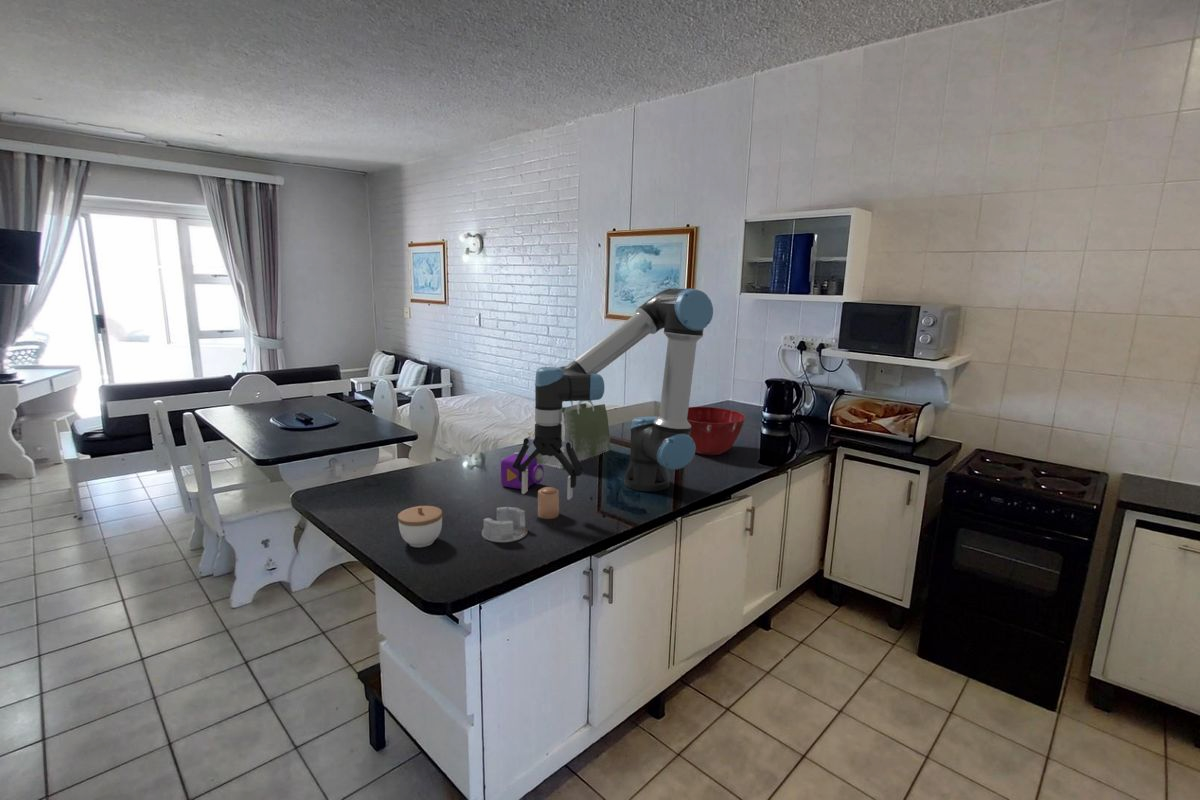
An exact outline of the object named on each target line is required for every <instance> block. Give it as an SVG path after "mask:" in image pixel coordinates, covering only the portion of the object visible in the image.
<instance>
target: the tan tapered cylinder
mask: <svg viewBox="0 0 1200 800" xmlns="http://www.w3.org/2000/svg"><path fill="white" fill-rule="evenodd" d="M559 515H560V490H558V489H556V488H555V487H553V486H546V487H545V486H544V487H542V488H540V489H539V490H538V491H537V516H538V517H539V518H541V519H545V520H550V519H551V520H552V519H556V518H558V517H559Z"/></svg>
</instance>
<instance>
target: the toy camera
mask: <svg viewBox="0 0 1200 800" xmlns="http://www.w3.org/2000/svg"><path fill="white" fill-rule="evenodd" d="M518 454H519V452H518V451H516V452H514V453H513V454H511V455H509V456H506V457H504V458H503V459H502V460H501V461H500V483H501V485H502V486H503V487H505V488H511V489H518V490H522V482H520V481H519V470H518V469H516V468H515V469H514V468H513V464H514V462H515V460H516V458H517V456H518ZM529 456H530V455H528V454H525V456H524V458H523V459H522V461H521V463H520V464H521V465H522V464H523V463H524V462H525V461H526V460H527V459H528V457H529ZM525 469H527V470H528V488H529V487H531V486H532V485H534V484H536V485H539V484H540V483H541V482H542V480H543V478H544V473H545V471H544V470H545V469H544V466H543V464H538V463H537V459H536V457H535V458H534V459H533V460H532V461H531V462H530V464H529V465H528V466H527V467H526V468H525Z"/></svg>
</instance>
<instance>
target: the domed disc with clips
mask: <svg viewBox="0 0 1200 800" xmlns="http://www.w3.org/2000/svg"><path fill="white" fill-rule="evenodd" d="M527 535H528V527H527V526H526V511H525V510H523V509H521V508H519V507H514V506H513V507H511V506H501V507H500V506H499V507H496V520H494V519H492V518H491V517H486V518H483V528H482V530H481V537H482V538H483V539H484V540H486V541H488V542H491V543H497V544H499V543H500V544H505V543H513V542H516V541H517V542H518V541H520V540H522V539H524V538H525V537H526V536H527Z"/></svg>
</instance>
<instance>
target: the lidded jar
mask: <svg viewBox="0 0 1200 800" xmlns="http://www.w3.org/2000/svg"><path fill="white" fill-rule="evenodd" d="M397 520H398V528H399V532H400V536H401V538H402V539H403V540H404V541H405V543H407V544H408V545H409V546H410V547H413V548H424V547H428V546H430V545H432V544H433V543H434V542H435V540H436V539H437V538H439V536H440V534H441V531H442V526H443V510H442V509H441V508H440V507H437V506H434V505H418V506H417V505H416V506H411V507H409V508H406V509H404V510H401V511H400V512H399V513H398V514H397Z"/></svg>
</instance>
